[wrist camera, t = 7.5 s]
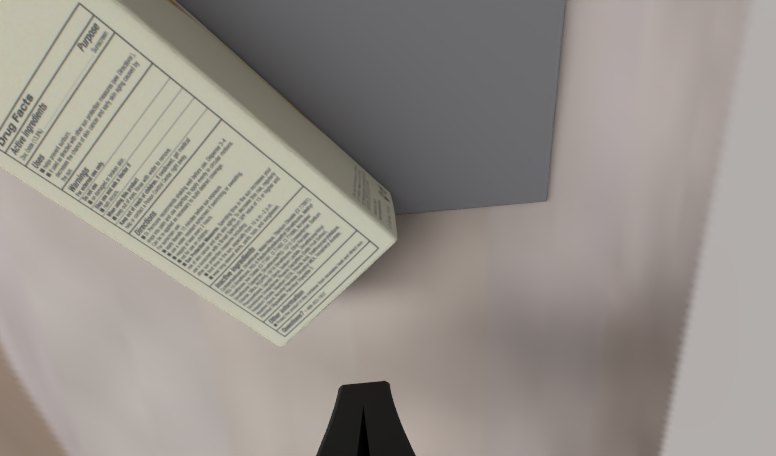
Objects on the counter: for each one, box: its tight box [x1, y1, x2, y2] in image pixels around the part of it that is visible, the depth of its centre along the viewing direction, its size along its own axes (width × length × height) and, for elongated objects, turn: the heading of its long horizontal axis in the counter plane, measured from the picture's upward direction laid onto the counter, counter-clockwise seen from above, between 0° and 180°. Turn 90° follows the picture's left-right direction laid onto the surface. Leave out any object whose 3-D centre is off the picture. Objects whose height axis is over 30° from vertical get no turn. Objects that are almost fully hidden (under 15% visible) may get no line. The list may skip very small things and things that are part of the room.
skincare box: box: [0, 0, 397, 347], centre depth 15 cm, size 6×4×12 cm
